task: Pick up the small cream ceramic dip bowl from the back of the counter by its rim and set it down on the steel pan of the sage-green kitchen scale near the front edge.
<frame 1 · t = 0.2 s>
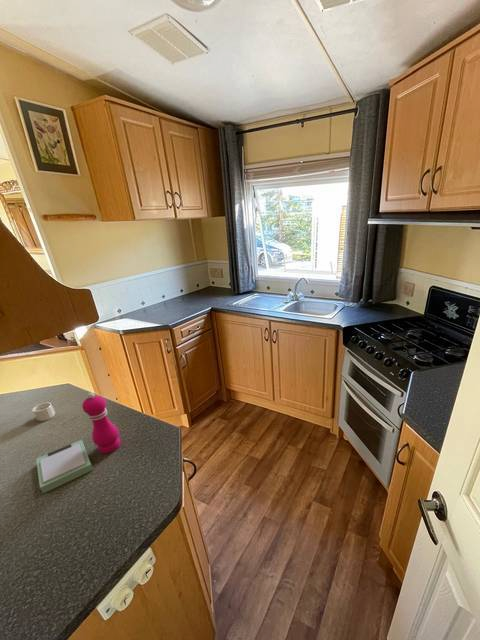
dip bowl: (46, 416, 109), on the countertop
pepper mill: (110, 447, 92), on the countertop
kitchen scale: (65, 467, 85), on the countertop
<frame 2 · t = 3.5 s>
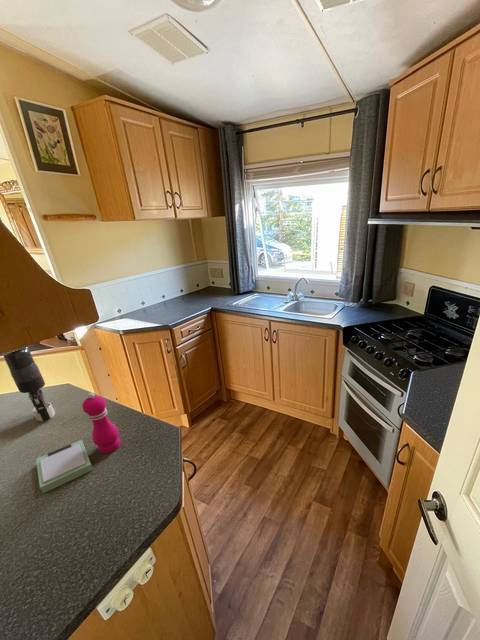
hand: (46, 415, 108), 1 cm above the countertop, tool pointing down, fingers closed on dip bowl, 6 cm apart
dip bowl: (46, 416, 109), on the countertop, touching gripper
everything else where it was.
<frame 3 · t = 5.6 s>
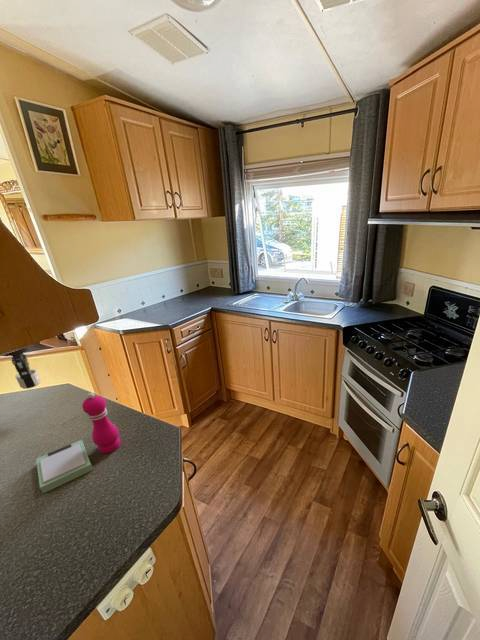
hand: (30, 383, 102), 15 cm above the countertop, tool pointing down, fingers closed on dip bowl, 6 cm apart
dip bowl: (31, 384, 102), point 14 cm above the countertop, touching gripper
everything else where it was.
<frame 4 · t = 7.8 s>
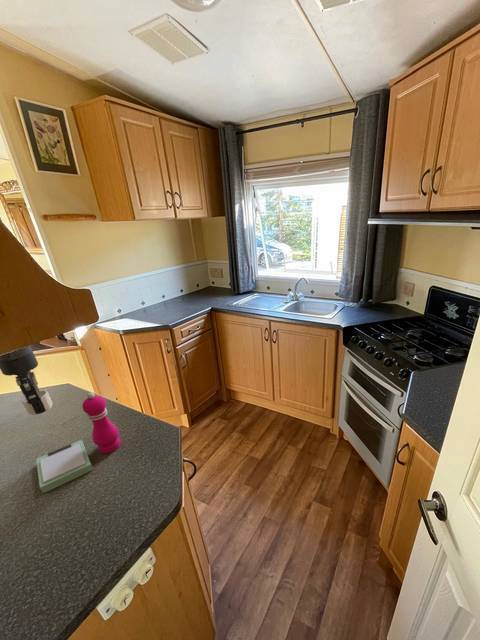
hand: (40, 407, 81), 18 cm above the countertop, tool pointing down, fingers closed on dip bowl, 6 cm apart
dip bowl: (41, 409, 81), point 18 cm above the countertop, touching gripper
everything else where it was.
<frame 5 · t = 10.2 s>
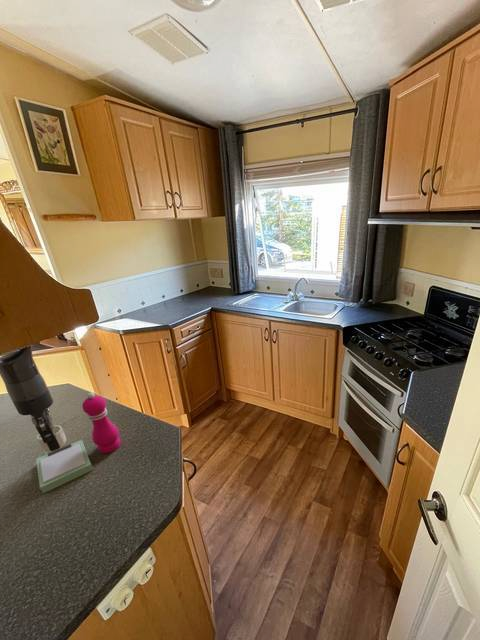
hand: (54, 443, 81), 9 cm above the countertop, tool pointing down, fingers closed on dip bowl, 6 cm apart
dip bowl: (55, 444, 81), point 8 cm above the countertop, touching gripper
everything else where it was.
when the fingers open (3 cm above the countertop, at t = 12.1 s): dip bowl stays where it is, resting on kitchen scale.
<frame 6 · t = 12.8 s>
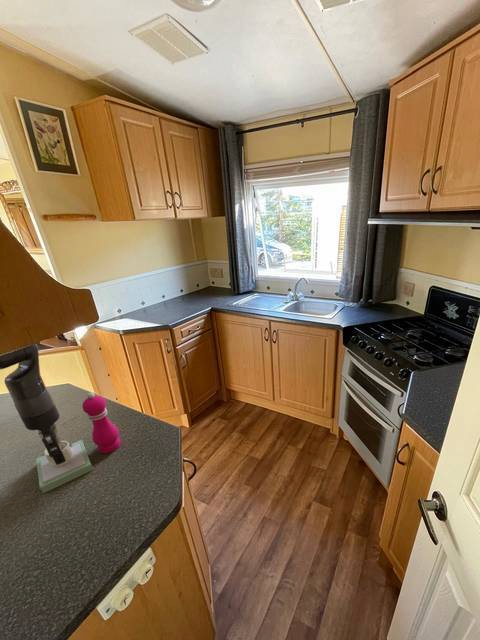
hand: (59, 454, 83), 5 cm above the countertop, tool pointing down, fingers open, 8 cm apart
dip bowl: (62, 459, 84), point 3 cm above the countertop, touching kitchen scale
everything else where it was.
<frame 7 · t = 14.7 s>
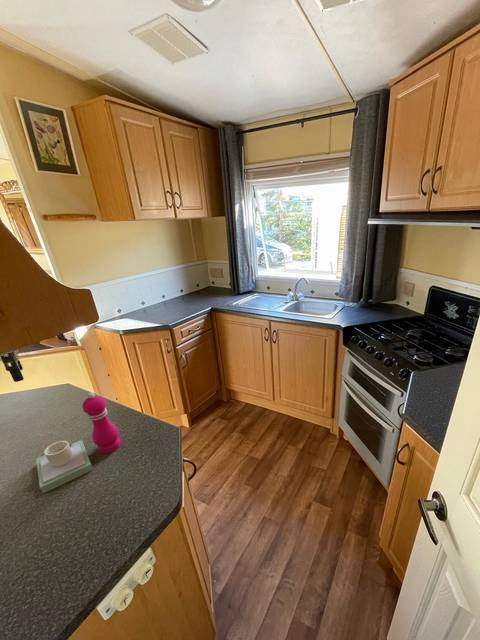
hand: (19, 375, 87), 24 cm above the countertop, tool pointing down, fingers open, 8 cm apart
nothing on the countertop moved.
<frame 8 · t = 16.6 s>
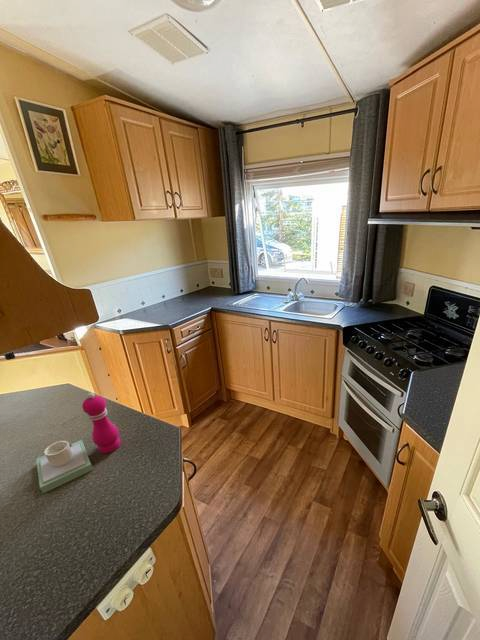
hand: (11, 354, 91), 28 cm above the countertop, tool pointing down, fingers open, 8 cm apart
nothing on the countertop moved.
at the end: dip bowl inside the target area on the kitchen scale (0.1 cm from its centre), point 2.8 cm above the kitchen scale's base; dip bowl tilted 0°; the gripper is holding nothing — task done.
